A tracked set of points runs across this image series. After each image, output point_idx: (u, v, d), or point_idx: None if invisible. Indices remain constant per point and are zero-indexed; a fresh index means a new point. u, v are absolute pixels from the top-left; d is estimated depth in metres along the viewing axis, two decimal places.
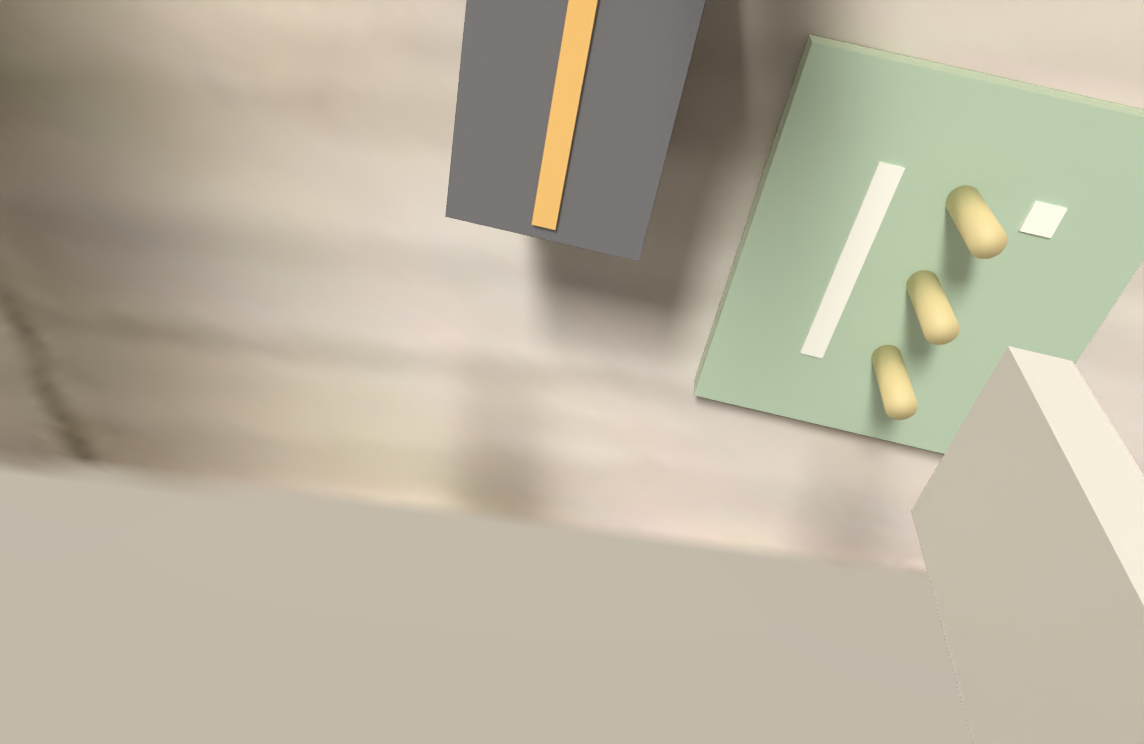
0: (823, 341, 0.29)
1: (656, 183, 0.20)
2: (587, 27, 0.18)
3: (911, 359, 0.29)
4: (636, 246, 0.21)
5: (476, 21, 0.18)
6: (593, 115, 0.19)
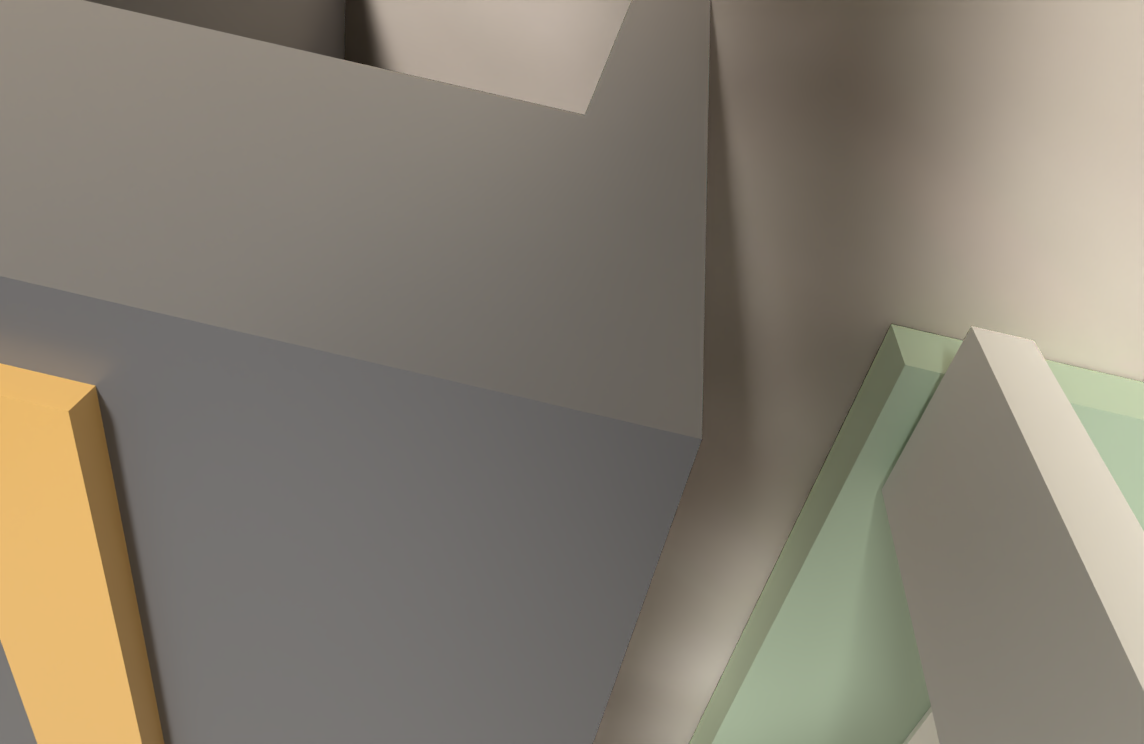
0: None
1: None
2: None
3: None
4: None
5: None
6: None
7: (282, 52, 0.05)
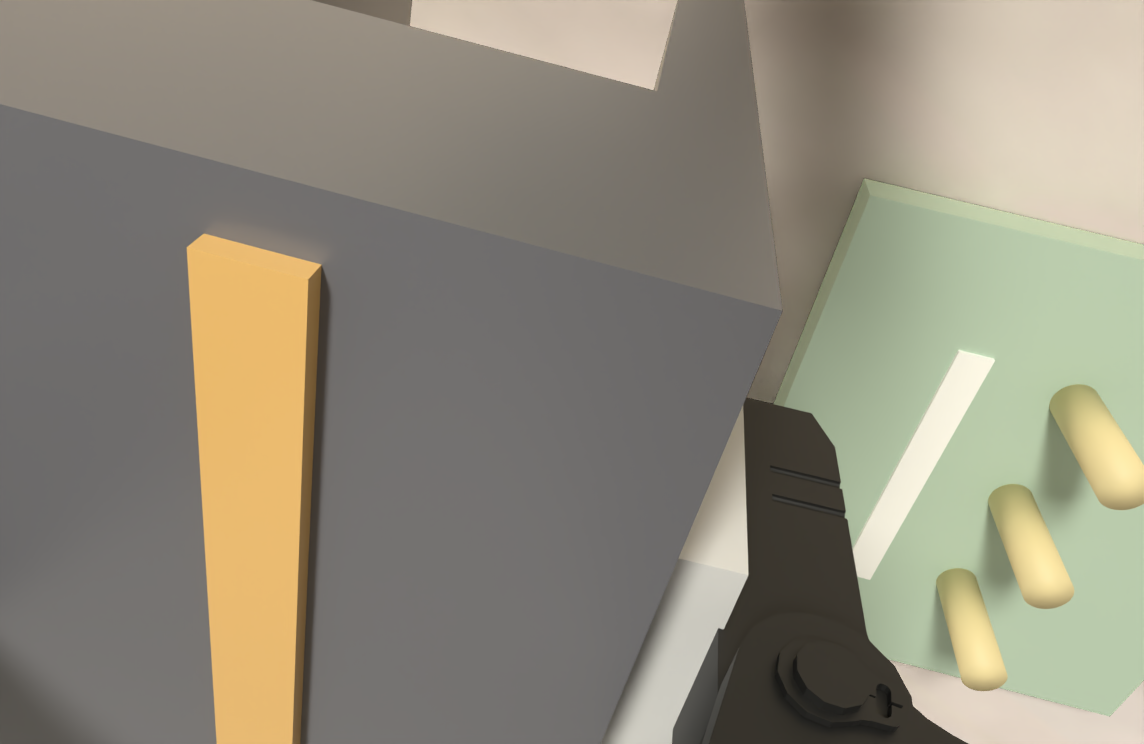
0: (872, 560, 0.22)
1: None
2: (280, 595, 0.05)
3: (990, 586, 0.22)
4: None
5: None
6: None
7: (407, 30, 0.06)
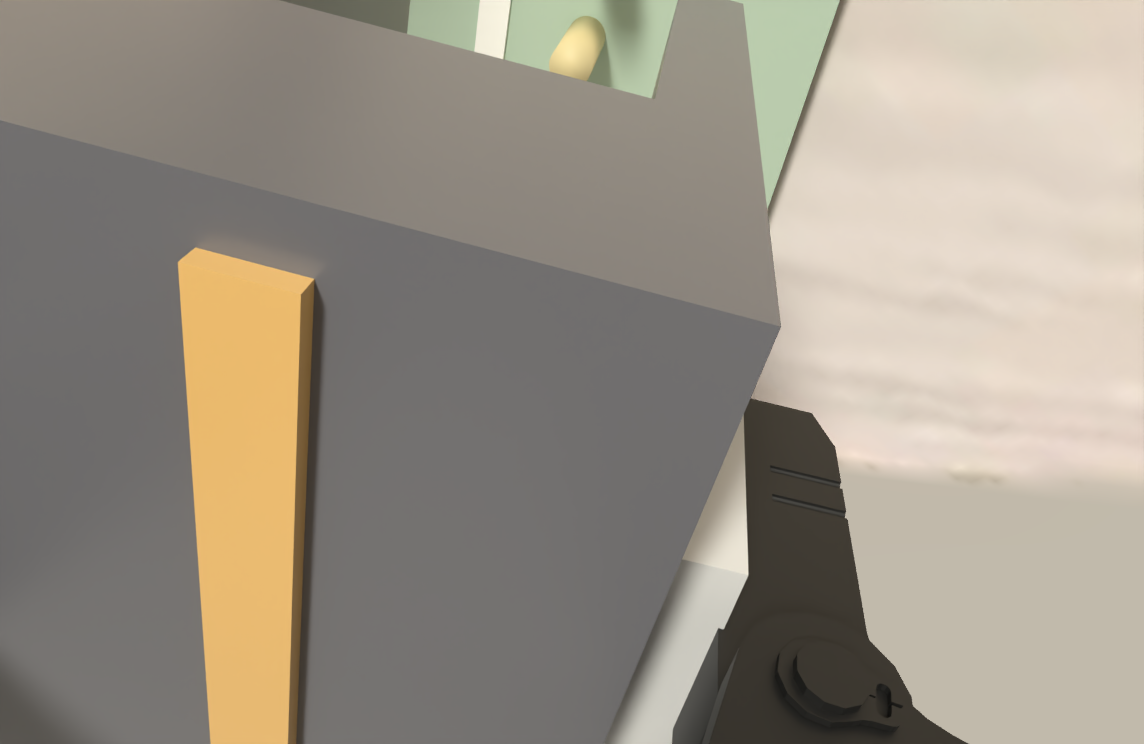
0: None
1: None
2: (275, 611, 0.05)
3: None
4: None
5: None
6: None
7: (403, 38, 0.06)
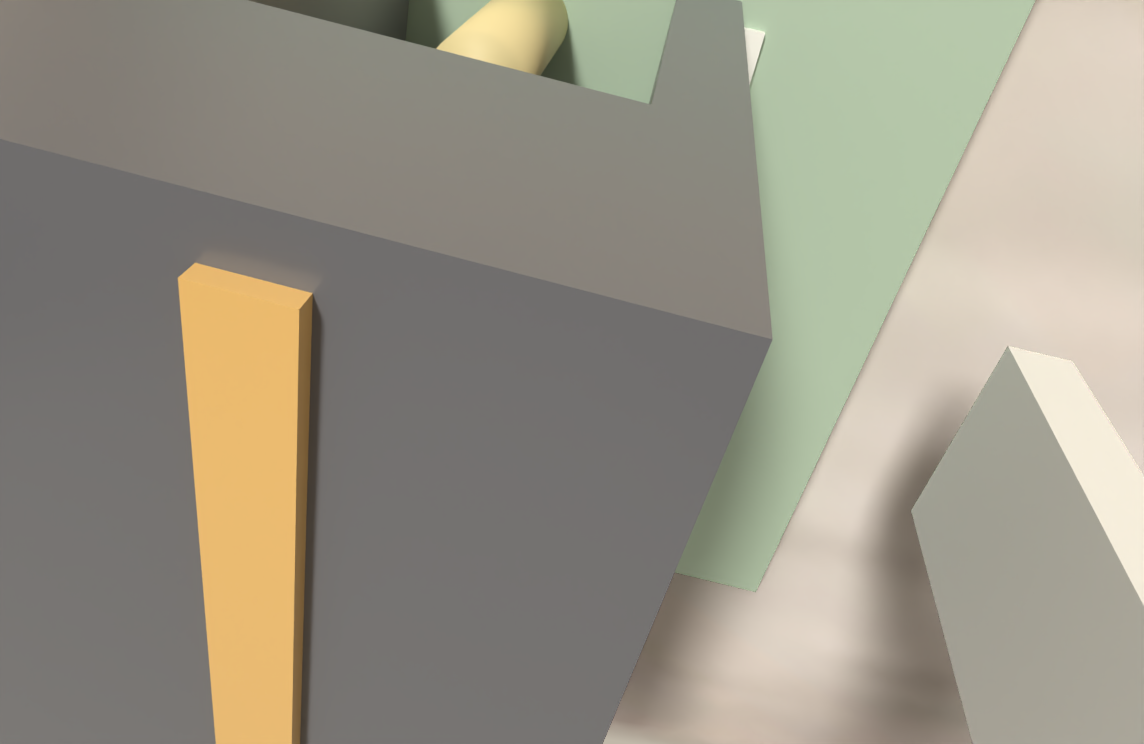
0: None
1: None
2: (277, 614, 0.05)
3: None
4: None
5: None
6: None
7: (400, 45, 0.06)
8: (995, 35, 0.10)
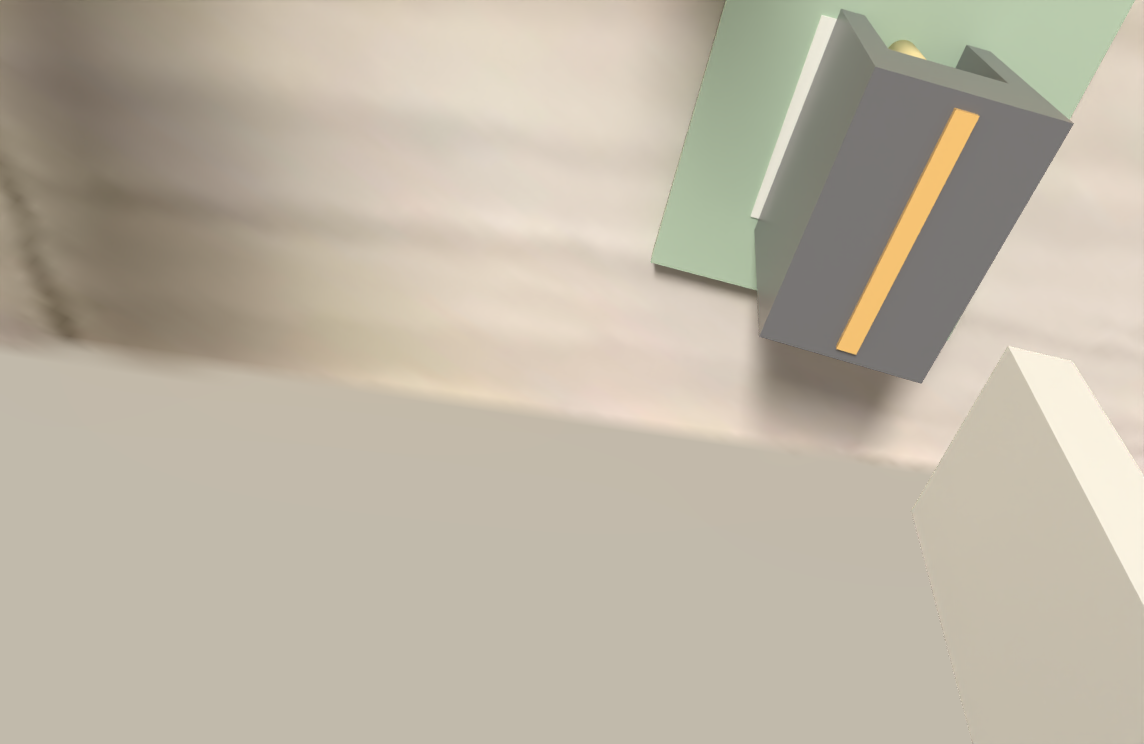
0: None
1: (954, 324, 0.24)
2: (929, 203, 0.22)
3: None
4: (922, 371, 0.24)
5: (832, 191, 0.22)
6: (913, 269, 0.23)
7: (941, 65, 0.23)
8: (1088, 67, 0.27)
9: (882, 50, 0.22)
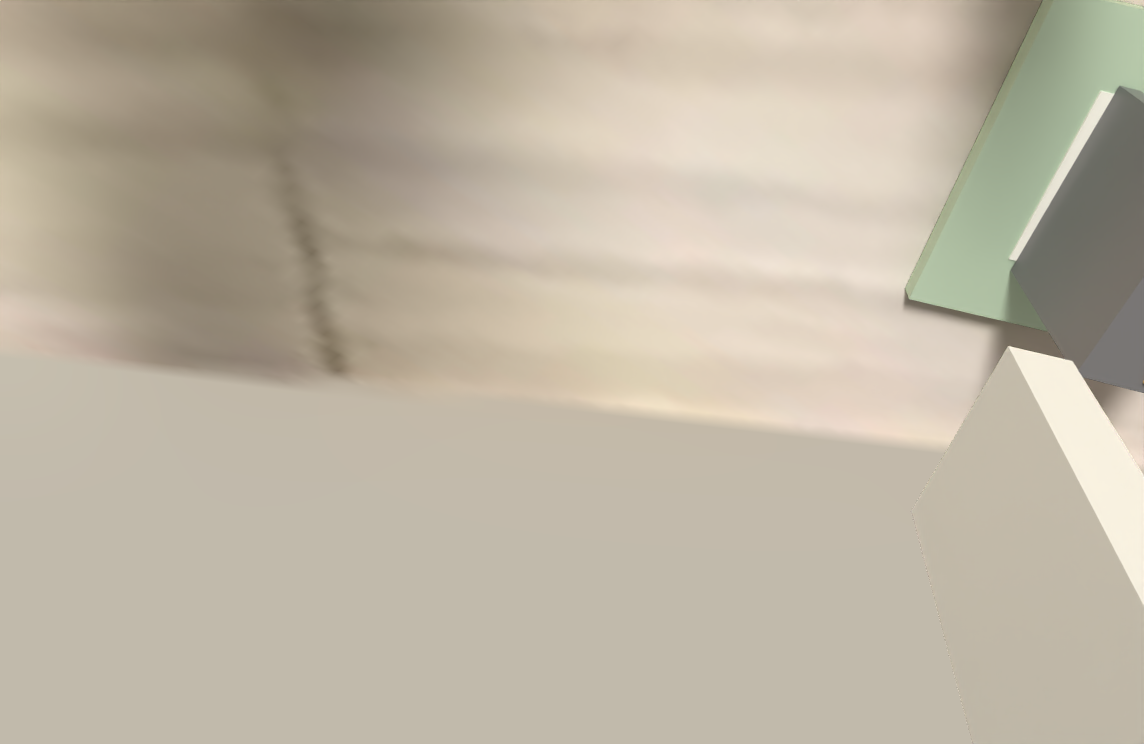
0: None
1: None
2: None
3: None
4: None
5: None
6: None
7: None
8: None
9: None
